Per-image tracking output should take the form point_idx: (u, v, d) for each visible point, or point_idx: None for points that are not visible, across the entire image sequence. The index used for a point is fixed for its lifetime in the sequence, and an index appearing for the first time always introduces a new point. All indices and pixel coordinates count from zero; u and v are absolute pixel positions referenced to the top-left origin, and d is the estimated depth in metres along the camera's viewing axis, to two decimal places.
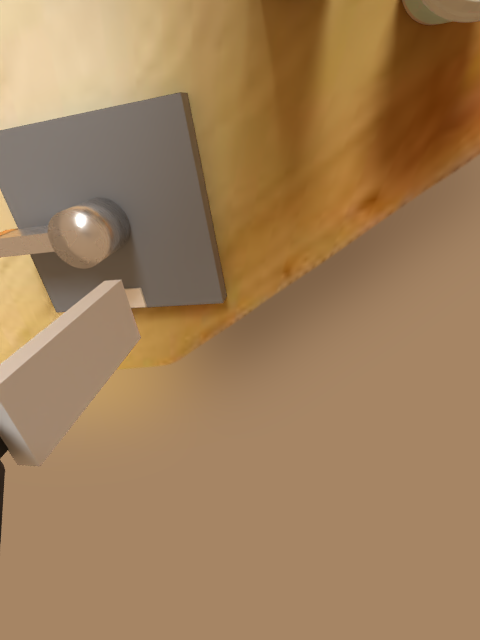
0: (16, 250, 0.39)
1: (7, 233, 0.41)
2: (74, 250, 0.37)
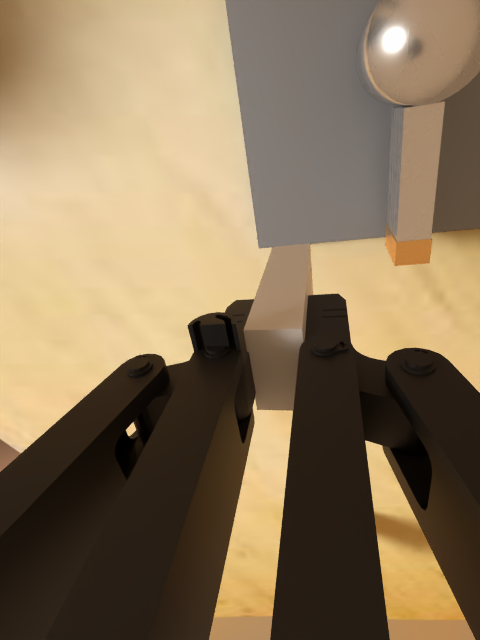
0: (425, 198, 0.22)
1: (391, 228, 0.25)
2: (453, 43, 0.18)
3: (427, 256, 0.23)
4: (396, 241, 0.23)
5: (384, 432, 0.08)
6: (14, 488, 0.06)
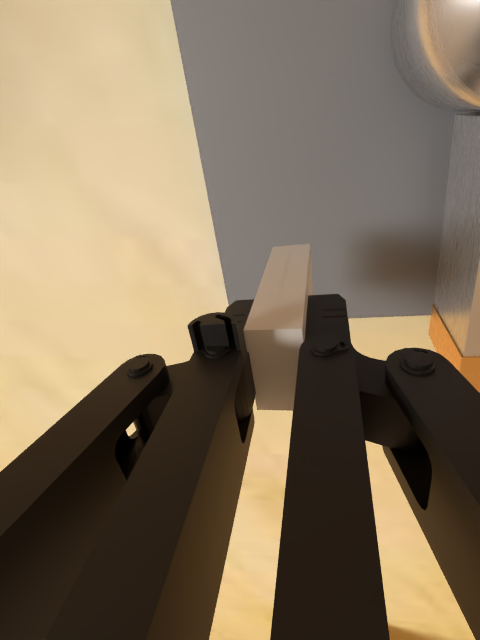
0: None
1: (445, 321, 0.15)
2: None
3: None
4: (462, 355, 0.13)
5: (384, 431, 0.08)
6: (14, 488, 0.06)
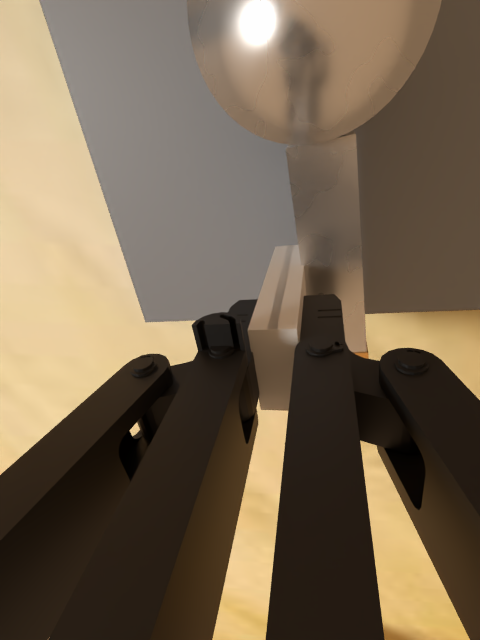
0: (347, 292, 0.13)
1: None
2: (350, 23, 0.09)
3: None
4: None
5: (377, 431, 0.08)
6: (18, 488, 0.06)
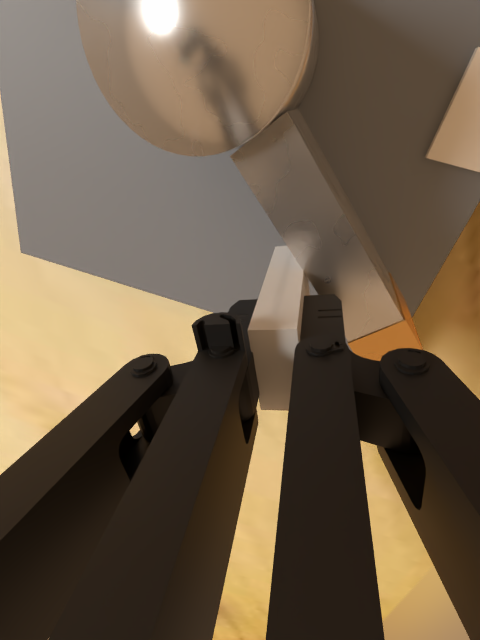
0: (353, 266, 0.12)
1: None
2: (230, 17, 0.09)
3: (414, 346, 0.13)
4: (348, 340, 0.13)
5: (377, 431, 0.08)
6: (18, 488, 0.06)
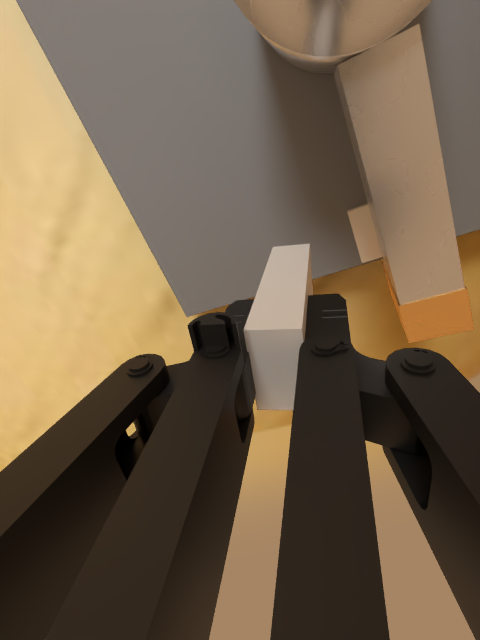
0: (432, 220, 0.11)
1: (388, 275, 0.14)
2: None
3: (466, 318, 0.12)
4: (399, 303, 0.13)
5: (384, 432, 0.08)
6: (14, 488, 0.06)
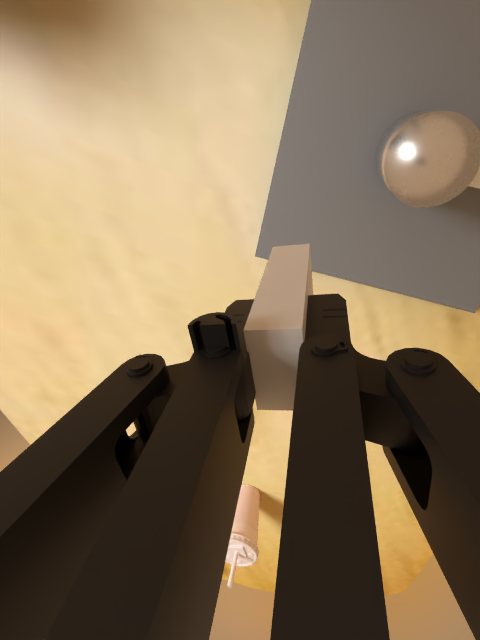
0: None
1: None
2: (447, 148, 0.24)
3: None
4: None
5: (383, 432, 0.08)
6: (14, 488, 0.06)
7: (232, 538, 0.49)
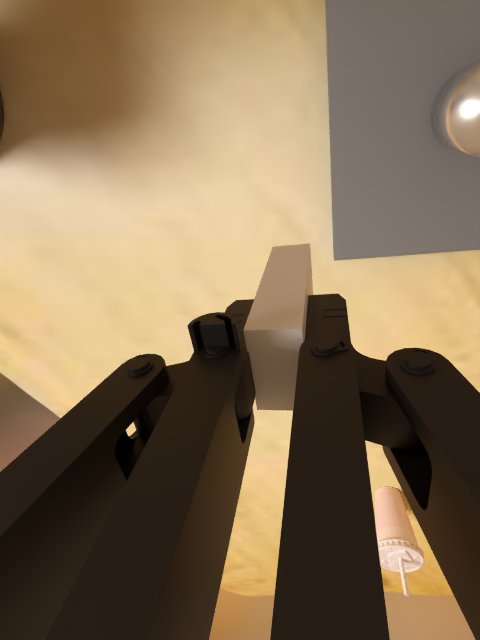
0: None
1: None
2: None
3: None
4: None
5: (384, 432, 0.08)
6: (14, 488, 0.06)
7: (392, 544, 0.47)
